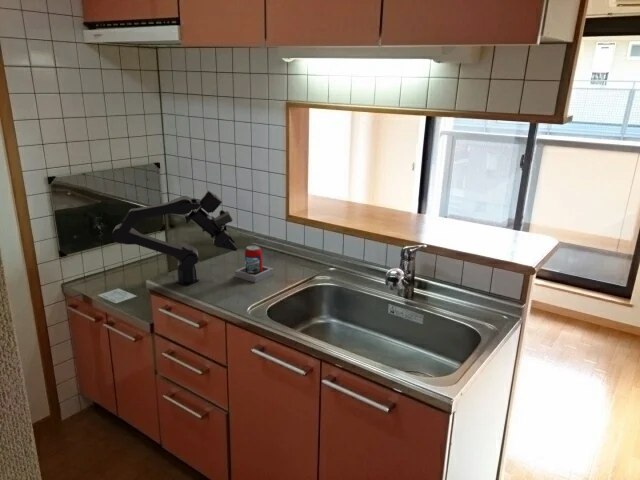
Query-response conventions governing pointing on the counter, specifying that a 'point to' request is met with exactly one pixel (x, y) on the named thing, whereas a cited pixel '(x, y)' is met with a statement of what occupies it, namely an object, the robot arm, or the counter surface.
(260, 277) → the holder
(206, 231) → the robot arm
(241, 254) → the counter surface
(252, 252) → the beverage can
